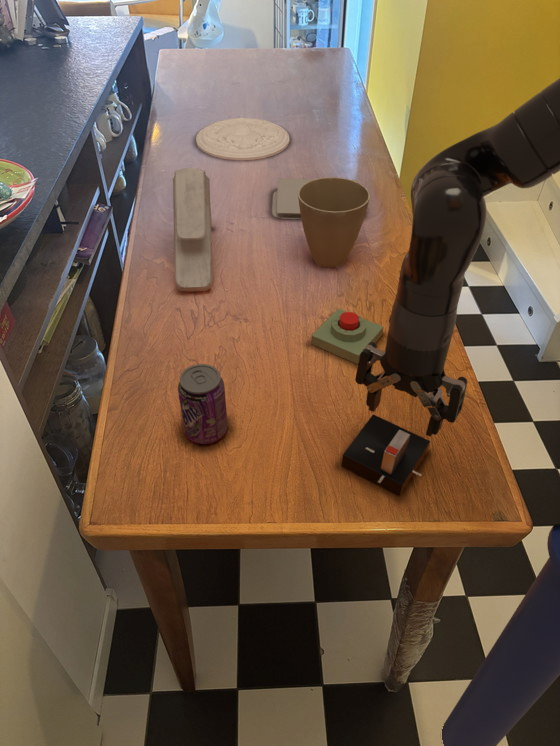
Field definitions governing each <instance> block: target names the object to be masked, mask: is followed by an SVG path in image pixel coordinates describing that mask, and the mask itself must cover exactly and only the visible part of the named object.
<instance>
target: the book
mask: <svg viewBox="0 0 560 746" xmlns="http://www.w3.org/2000/svg"><path fill="white" fill-rule="evenodd" d="M314 179H315V178H278V179H277V190H275V191H274V192H273V194H272V205H271V208H272V209H271V213H272V216H273V217H275V218H277V219H282V220H301V214H300V207H299V200H298V191H299V189H300V187H301V186H302V185H303V184H305V183H306V182H308V181H311V180H314ZM352 180H353V181H356V182H358V183H359V179H352Z"/></svg>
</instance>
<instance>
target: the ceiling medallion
mask: <svg viewBox="0 0 560 746" xmlns="http://www.w3.org/2000/svg"><path fill="white" fill-rule="evenodd" d="M195 144H196V146H197V147H198V149H199V150H200V151H202V152H204V154H206V155H209V156H212V157H214V158H218V159H222V160H230V161H254V160H262V159H266V158H270V157H272V156H275V155H278V154H280V153H281V152H283V151H284V150H285V149H287V147H288V146H289V144H290V134H289V133H288V132H287V130H286V129H285V128H283V127H281V126H280V125H278V124H276V123H274V122H271V121H269V120H265V119H261V118H252V117H237V118H227V119H222V120H220V121H215V122H213V123H211V124H208V125H206V126H205V127H204V128H202V129H201V130H200V131H198V133H197V135H196V136H195Z"/></svg>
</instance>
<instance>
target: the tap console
mask: <svg viewBox="0 0 560 746" xmlns="http://www.w3.org/2000/svg"><path fill="white" fill-rule="evenodd" d="M399 430H402V431H404V432H406V433H408V434H410V438H409V442H408V446H407V450H406V454H405V455H404V457H403V458H402V460H401V461H400V463H399V464H398V466H397V467H396V469H395V470H394V472H393V473H392V475H389V474H387V473H385V472H383V471H381V470H380V469H381V465H382V460H383V455H384V451H385V449H386V448H387V446H388V445H389V444H390V442H391V441H392V439H393V438H394V436H395V435H396V434H397V432H398V431H399ZM430 444H431V440H429V439H427V438H425V437H423V436H420V435H418V434H416V433H414V432H412V431H410V430H408V429H406V428H404V427H401V426H400V425H397V424H395V423H392V422H391V421H389V420H387V419H384V418H382V417H381V416H378V415H376V414H372V415H371V416H370V417H369V419H368V421H367V422H366V423H365V424H364V426H363V427H362V428H361V430H360V431H359V432H358V434H357V435H356V436H355V437H354V439H353V440H352V442H350V444H349V445H348V447H347V448H346V450H345V451H344V452H343V453H342V458H341V467H342V468H343V469H346V470H347V471H349V472H351V473H353V474H355V475H356V476H358V477H361V478H362V479H365V480H366V481H369V482H370V483H372V484H375V485H376V486H378V487H380V488H382V489H384V490H386V491H388V492H389V493H391V494H394V495H396V496H398V497H400V496H401V495H402V494H403V492H404V491H405V489H406V487H407V486H408V484H409V483H410V481H411V479H412V478H413V476H414V475H416V476H418V477H420V478H421V477H422V476H423V474H422V473H420V472H418V471H417V469H418V468H419V467H420V465H421V463H422V462H423V460H424V458H425V457H426V455H427V453H428V450H429V447H430Z"/></svg>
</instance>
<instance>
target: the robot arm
mask: <svg viewBox="0 0 560 746" xmlns="http://www.w3.org/2000/svg"><path fill="white" fill-rule="evenodd" d="M559 172H560V77H559V78H558V79H556V80H554V81H553V82H551V83H550V84H549V85H548V86H546V87H544V88H543V89H542V90H541V91H539V92H538V93H536V94H535V95H534V96H532V97H531V98H530V99H528V100H527V101H525V102H524V103H523V104H521V105H520V106H518V107H517V108H515V110H514V111H512V112H510V113H509V114H507V116H505V117H504V118H503V119H502V120H500V121H499V122H497V123H495V124H494V125H492V126H490V127H487V128H485V129H482V130H480V131H478V132H476V133H473V134H471V135H470V136H468V137H466V138H463V139H462V140H460V141H458V142H456V143H454V144H452V145H450V146H448V147H447V148H445V149H443V150H442V151H440V152H438V153H437V154H436V155H434V156H433V157H431V158H430V159H429V160H428V161H427V162H426V163H424V164H423V165H422V167H421V168H420V169H419V170H418V172H417V173H416V175H415V176H414V178H413V180H412V183H411V187H410V201H411V214H412V226H411V234H410V240H409V241H410V242H409V246H408V247H409V248H408V251H407V252H406V254H404V255H405V256H404V257H403V260H402V263H401V267H400V271H399V277H398V284H397V288H396V289H397V290H396V294H395V299H394V302H393V304H392V308H391V313H390V314H389V319H388V330H387V337H386V343H385V349H384V351H383V350H381V349H379V348H377V347H378V346H377V343H374V342H369V344H368V345H367V346H366V347H365V348H364V349H363V351H362V352H361V354H360V358H359V363H358V364H357V368H356V374H355V379H354V381H355V382H356V384H357V385H363V386H365V387H366V391H367V393H366V401H365V404H366V406H367V407H368V411H370V412H372V413H374V412H376V410H377V408H378V407H379V405H380V403H381V399H382V393H383V389H385V388H388V387H389V386H393V387H394V389H395V390H398V391H400V392H405V393H407V394H408V395H410V396H411V397H414V398H418V399H419V402H420V403H421V405H422V406H423V408H425V409H427V411H428V412H429V414H430V417H429V419H428V424H427V427H426V432H425V436H427V437H429V438H431V437H432V436H433V435H434V436H436V435H438V433H440V432H439V431H440V430H441V428H442V427H443V422H444V420H446V421H447V422H448V423H451V424H454V423H455V422H456V420H457V419H458V417H459V415H460V414H461V412H462V410H463V405H464V400H465V395H466V390H467V385H468V379H467V378H466V377H465V376H459V377H458V378H457V379H455V378H452V377H450V376H447V375H446V372H445V364H446V362H447V357H448V353H449V349H450V346H451V341H452V337H453V334H454V330H455V326H456V322H457V314H458V306H459V301H460V298H461V294H462V290H463V285H464V282H465V275H466V273H467V270H468V269H469V267H470V265H471V263H472V261H473V260H474V257H475V255H476V253H477V250H478V248H479V246H480V243H481V240H482V237H483V235H484V230H485V226H486V221H487V203H486V200H485V197H486V196H488V195H490V194H491V193H494V192H496V191H498V190H500V189H503V188H504V187H506V186H508V185H510V184H512V185H514V186H515V187H516V188H520V189H530V188H534V187H536V186H537V185H539V184H542V183H543V182H544V181H546V180H548V179H549V178H551V177H552V176H553V175H555V174H557V173H559ZM378 361H379V363H380V366H381V368H382V370H383V371H381V372H379V373H377V374H376V375H374V374H373V373H372V370H373V367H374V365H375V364H376V362H378ZM442 387H444V389H445V393H446V397H447V398H449V399H448V404H447V402H446V400H445V398H444V397H443V390H442Z"/></svg>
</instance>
